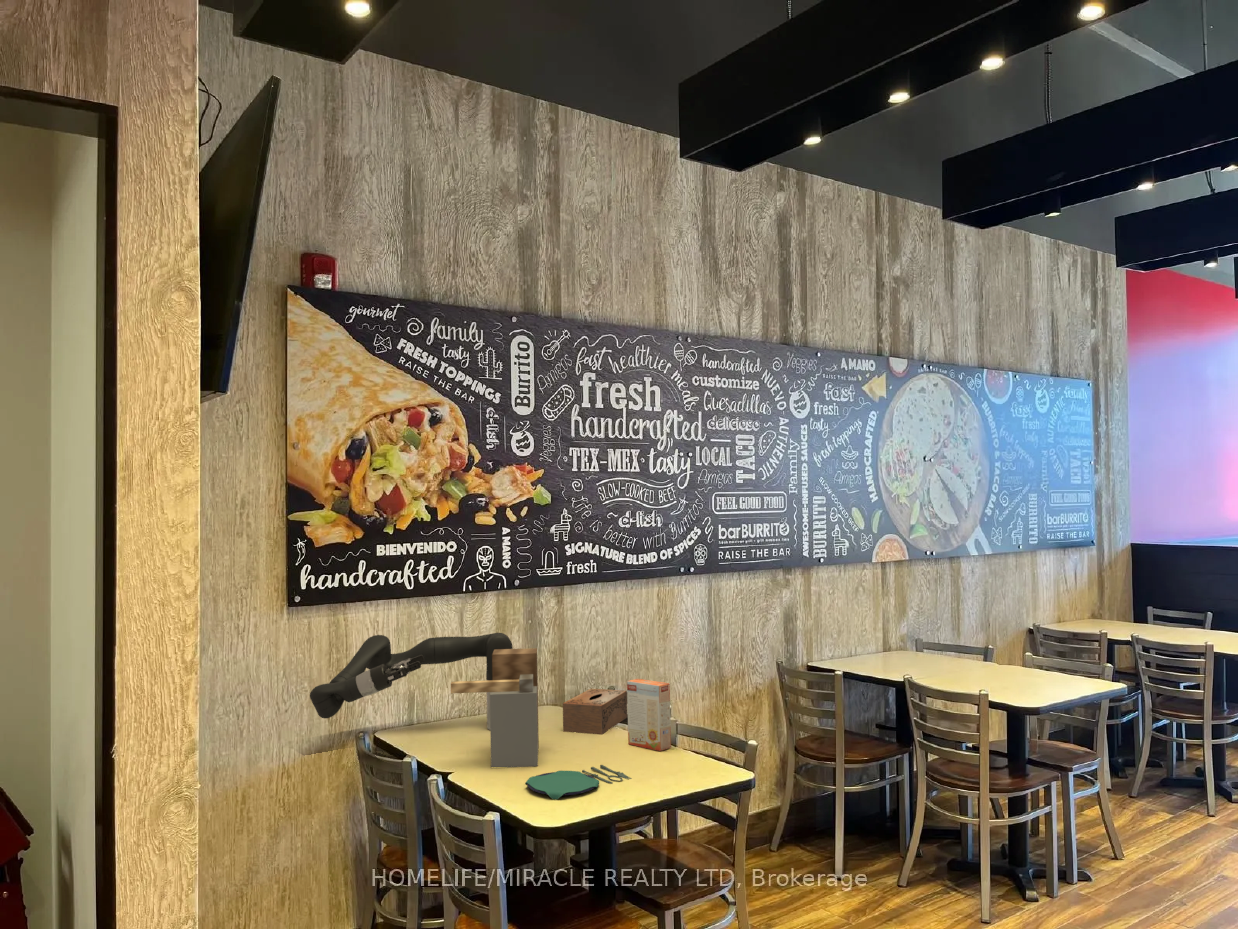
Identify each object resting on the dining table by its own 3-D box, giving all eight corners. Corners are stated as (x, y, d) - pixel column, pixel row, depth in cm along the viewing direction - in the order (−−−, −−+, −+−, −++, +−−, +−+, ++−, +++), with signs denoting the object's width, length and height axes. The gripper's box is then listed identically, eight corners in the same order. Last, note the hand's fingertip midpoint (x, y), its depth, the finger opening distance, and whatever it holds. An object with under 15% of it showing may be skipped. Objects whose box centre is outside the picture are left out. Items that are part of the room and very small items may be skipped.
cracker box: (672, 748, 289) (670, 682, 290) (660, 752, 285) (658, 685, 286) (639, 741, 299) (638, 677, 300) (627, 744, 294) (626, 680, 295)
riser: (493, 757, 283) (492, 654, 284) (495, 748, 293) (494, 649, 294) (538, 755, 284) (536, 653, 285) (538, 746, 294) (537, 648, 295)
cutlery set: (513, 786, 253) (513, 778, 253) (599, 768, 271) (599, 760, 271) (551, 806, 237) (551, 797, 238) (640, 785, 255) (640, 776, 256)
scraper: (449, 695, 272) (449, 682, 272) (452, 689, 280) (452, 676, 280) (532, 692, 274) (532, 679, 274) (533, 687, 282) (533, 674, 282)
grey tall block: (490, 768, 271) (489, 694, 272) (493, 758, 281) (492, 687, 282) (537, 766, 272) (536, 693, 273) (538, 757, 282) (536, 686, 283)
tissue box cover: (601, 735, 308) (601, 706, 308) (563, 732, 313) (562, 703, 313) (627, 718, 332) (626, 690, 332) (591, 715, 337) (590, 688, 337)
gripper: (382, 685, 293) (428, 666, 295) (374, 697, 279) (423, 677, 280) (373, 664, 293) (420, 645, 294) (365, 675, 279) (414, 655, 280)
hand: (421, 660), depth 287 cm, fingers open, 8 cm apart
